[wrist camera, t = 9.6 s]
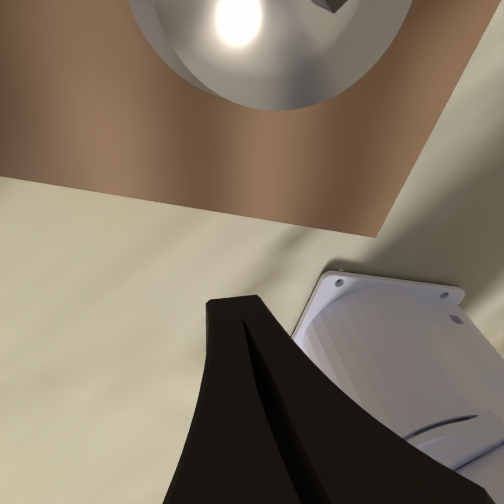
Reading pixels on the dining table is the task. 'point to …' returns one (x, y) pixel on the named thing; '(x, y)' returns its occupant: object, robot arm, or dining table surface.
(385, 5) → the steel cap
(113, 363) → the dining table surface
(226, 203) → the post base
